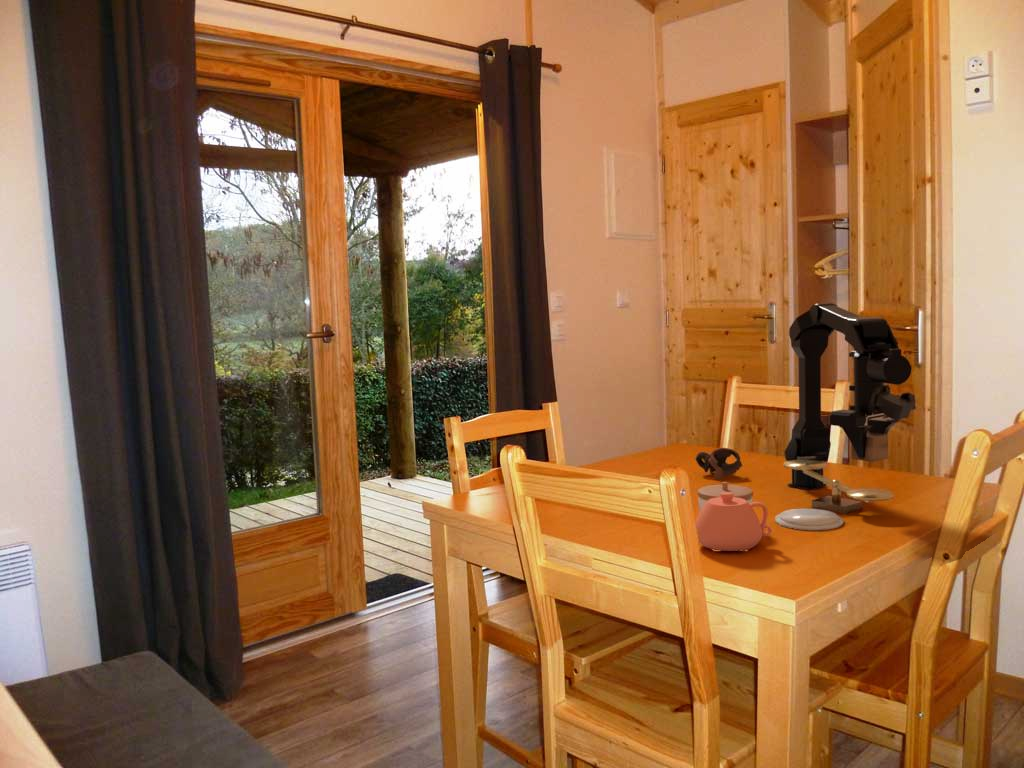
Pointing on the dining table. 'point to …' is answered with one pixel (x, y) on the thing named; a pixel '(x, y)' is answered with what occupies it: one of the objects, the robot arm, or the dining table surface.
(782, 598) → the dining table surface
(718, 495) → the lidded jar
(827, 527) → the dish
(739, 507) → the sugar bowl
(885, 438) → the block
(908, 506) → the dining table surface
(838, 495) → the balance
